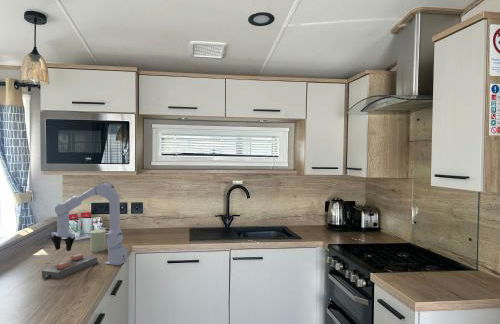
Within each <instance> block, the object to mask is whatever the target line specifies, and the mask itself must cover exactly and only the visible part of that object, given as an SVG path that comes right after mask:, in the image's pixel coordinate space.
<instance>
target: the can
mask: <svg viewBox="0 0 500 324" xmlns="http://www.w3.org/2000/svg"><path fill="white" fill-rule="evenodd" d="M106 231H107V230H105V229H94V230H91V231H90V232H89V245H90V246H89V251H90V252H94V253H96V252H97V253H98V252H103V251H105V250H106V249H107V243H106V241H107V238H106V235H107V234H106V233H107V232H106Z"/></svg>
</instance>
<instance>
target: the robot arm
mask: <svg viewBox="0 0 500 324" xmlns="http://www.w3.org/2000/svg"><path fill="white" fill-rule="evenodd" d="M97 195H98V196H100V197H102V198H105V199H106V200H107V201H109V202H108V203H109V204H108V206H109V231H108V234H107V238H106V246H107V255H108V256H107V257H108V258H107V260H108V261H106V262H104V264H105V265H111V266H112V265H114V266H120V265H123V264H124V263H127V262H129V260H128V249H127V247H125V246H123V242H124V238H125V237H124V235H123V231H122V229H121V213H120V210H121V208H120V207H121V206H120V205H121V199H120V198H121V197H120V195H119V192H118V191H117V190H116V187H115V185H114V184H112V183H111V182H105V183H101V184H98V185H96V186H93V187H91V188H89V189H88V190H86V191H85V192H83V193H82V194H81V195H71V196H70V197H69V198H68V199H67V200H64V201H62V203H60V204H57V205H56V206H55V207H54V212H55V213H56V231H53V232H51V237H50V240H51V241H52V243H53V245H54V247H55V250H56V251H58V250H60V249H61V241H62V238H63V239H64V243H65V247H66V252H69V251H72V248H73V247H72V246H73V244H74V242H75V240H76V233H72V232H70V212H71V211H72V210H74V209H76V208H78V207H79V206H81V205H82V202H83V201H85V200H87V199H88V198H90V197H92V196H97Z"/></svg>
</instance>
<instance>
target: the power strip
mask: <svg viewBox="0 0 500 324" xmlns="http://www.w3.org/2000/svg"><path fill="white" fill-rule="evenodd" d="M65 262H70V266H68V267H65V268H63V269H58V268H57V264H56V265H53V266H51V267H46V268H44V269H42V270H41V277H42V276H43V278H42V279H43V280H46V279H57V280H58V279H61V278H63V277H65V276H67V275H71V274H72V273H75V272H78V271H80V270H82V269H85V268H88V267H90V266H93V265H94V264H97V263H98V256H91V255H83V258H81V259H78V260H71V259H68V260H67V261H65ZM92 264H93V265H92Z"/></svg>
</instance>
